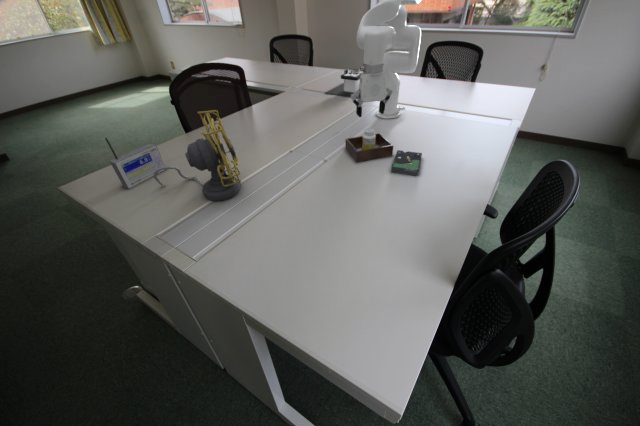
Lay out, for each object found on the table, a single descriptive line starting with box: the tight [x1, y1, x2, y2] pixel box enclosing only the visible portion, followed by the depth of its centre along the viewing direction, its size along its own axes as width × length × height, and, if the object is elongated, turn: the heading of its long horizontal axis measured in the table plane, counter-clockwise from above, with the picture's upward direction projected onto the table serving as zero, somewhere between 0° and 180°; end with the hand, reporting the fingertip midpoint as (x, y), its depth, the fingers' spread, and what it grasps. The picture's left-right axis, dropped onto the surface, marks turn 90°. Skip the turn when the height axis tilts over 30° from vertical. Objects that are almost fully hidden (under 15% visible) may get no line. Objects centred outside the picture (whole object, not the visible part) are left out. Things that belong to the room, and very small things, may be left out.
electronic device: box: [105, 137, 167, 190], centre depth 116 cm, size 17×7×20 cm, turn 148°
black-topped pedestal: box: [325, 68, 362, 99], centre depth 198 cm, size 28×26×13 cm
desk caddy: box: [344, 132, 394, 164], centre depth 129 cm, size 17×14×5 cm
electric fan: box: [153, 109, 242, 202], centre depth 101 cm, size 26×32×30 cm
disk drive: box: [390, 149, 423, 176], centre depth 119 cm, size 10×3×15 cm
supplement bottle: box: [361, 128, 376, 150], centre depth 127 cm, size 6×6×10 cm
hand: (370, 114), depth 119 cm, fingers open, 9 cm apart
